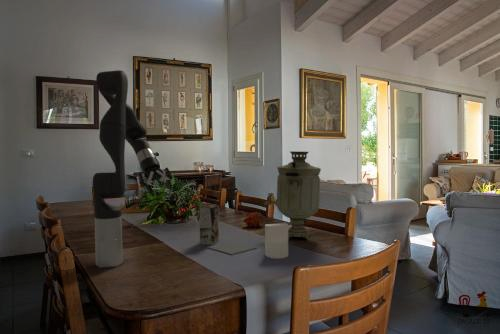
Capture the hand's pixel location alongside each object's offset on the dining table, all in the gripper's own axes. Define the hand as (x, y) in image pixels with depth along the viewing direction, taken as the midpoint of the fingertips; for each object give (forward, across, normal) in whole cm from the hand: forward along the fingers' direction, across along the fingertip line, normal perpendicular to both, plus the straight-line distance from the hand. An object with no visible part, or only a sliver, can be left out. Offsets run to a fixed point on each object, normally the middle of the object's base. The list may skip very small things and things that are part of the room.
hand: (161, 191), depth 167 cm
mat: (+35, +16, -3) cm, 39 cm away
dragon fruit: (+22, +50, +24) cm, 60 cm away
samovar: (+40, +50, -1) cm, 64 cm away
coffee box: (+26, +14, +8) cm, 31 cm away
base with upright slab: (+48, +24, -18) cm, 57 cm away
